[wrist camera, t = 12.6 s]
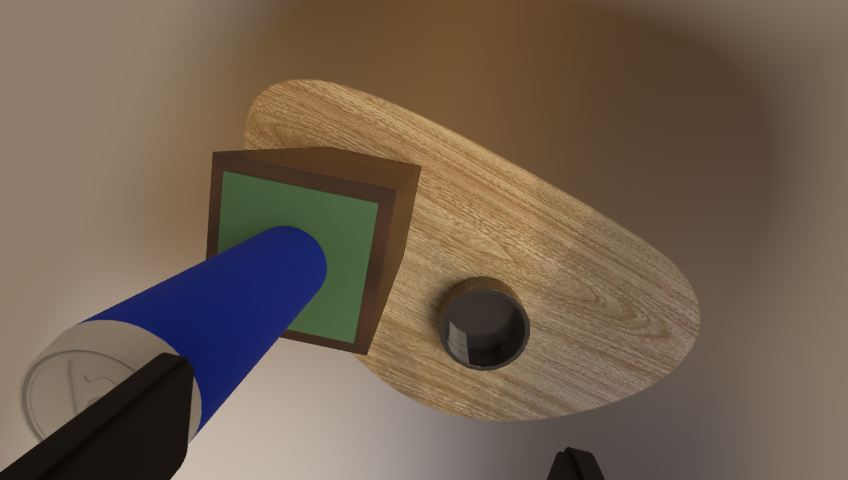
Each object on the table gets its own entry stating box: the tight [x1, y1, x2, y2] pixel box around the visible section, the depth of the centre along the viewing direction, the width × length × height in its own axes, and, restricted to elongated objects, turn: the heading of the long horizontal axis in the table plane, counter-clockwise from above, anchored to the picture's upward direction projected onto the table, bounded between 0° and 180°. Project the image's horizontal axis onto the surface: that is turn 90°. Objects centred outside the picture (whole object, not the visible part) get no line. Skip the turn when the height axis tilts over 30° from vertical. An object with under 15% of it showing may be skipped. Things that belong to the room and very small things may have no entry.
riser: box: [206, 147, 421, 355], centre depth 38 cm, size 12×12×25 cm
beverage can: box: [18, 226, 327, 444], centre depth 19 cm, size 5×5×15 cm
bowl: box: [439, 277, 530, 371], centre depth 51 cm, size 11×11×4 cm
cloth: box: [217, 171, 379, 343], centre depth 26 cm, size 10×10×1 cm
